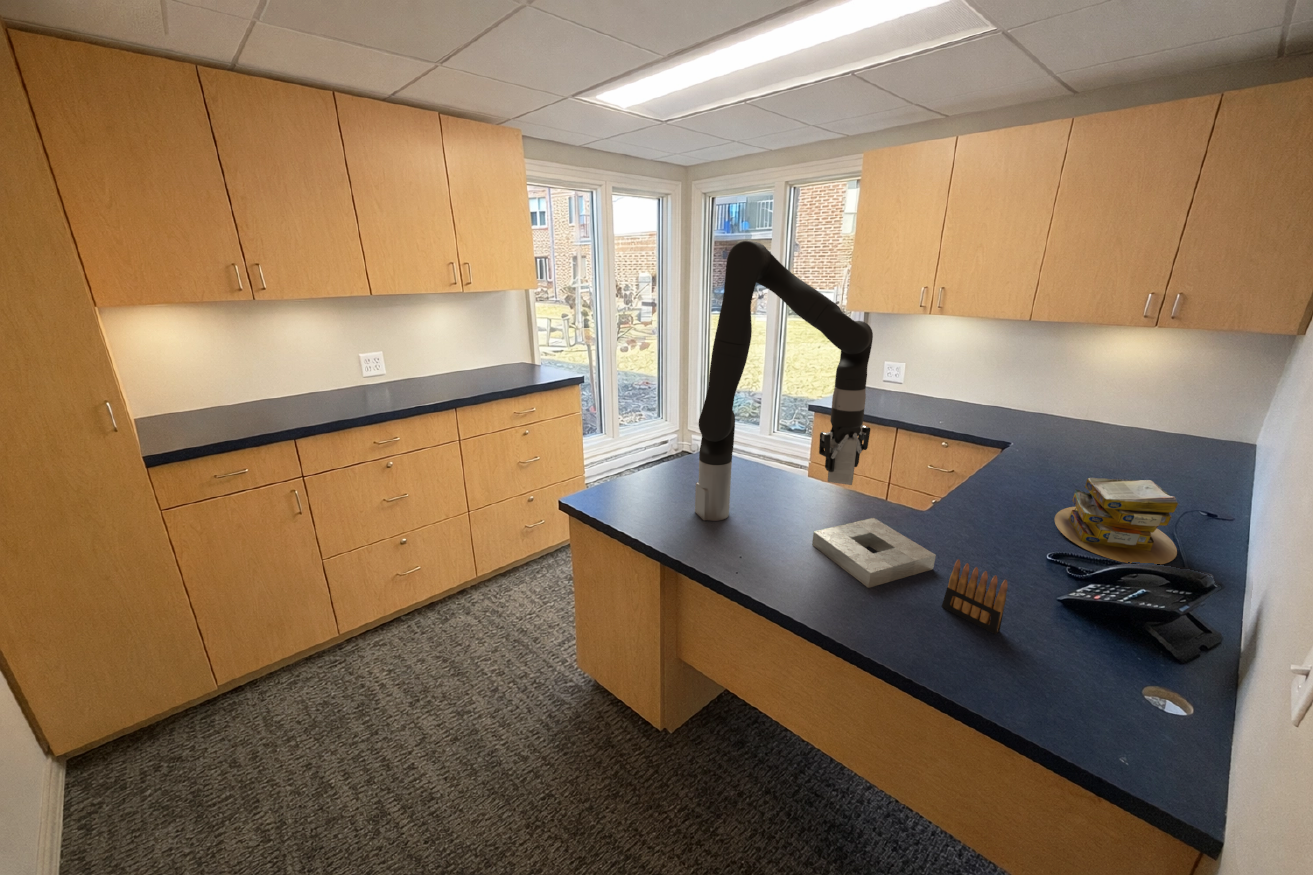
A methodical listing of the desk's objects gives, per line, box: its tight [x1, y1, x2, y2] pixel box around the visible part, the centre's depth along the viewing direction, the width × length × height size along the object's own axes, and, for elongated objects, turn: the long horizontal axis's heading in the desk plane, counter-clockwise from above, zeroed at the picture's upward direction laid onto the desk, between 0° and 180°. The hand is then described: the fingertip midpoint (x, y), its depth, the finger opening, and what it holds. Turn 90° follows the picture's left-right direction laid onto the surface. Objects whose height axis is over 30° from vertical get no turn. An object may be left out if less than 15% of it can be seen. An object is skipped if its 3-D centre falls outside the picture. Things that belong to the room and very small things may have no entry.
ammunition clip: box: [941, 559, 1009, 635], centre depth 104 cm, size 11×2×12 cm, turn 36°
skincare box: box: [827, 437, 857, 486], centre depth 128 cm, size 6×4×12 cm
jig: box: [811, 517, 937, 589], centre depth 128 cm, size 20×20×4 cm
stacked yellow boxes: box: [1054, 476, 1179, 565], centre depth 133 cm, size 25×25×17 cm
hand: (841, 468), depth 129 cm, fingers closed on skincare box, 7 cm apart
